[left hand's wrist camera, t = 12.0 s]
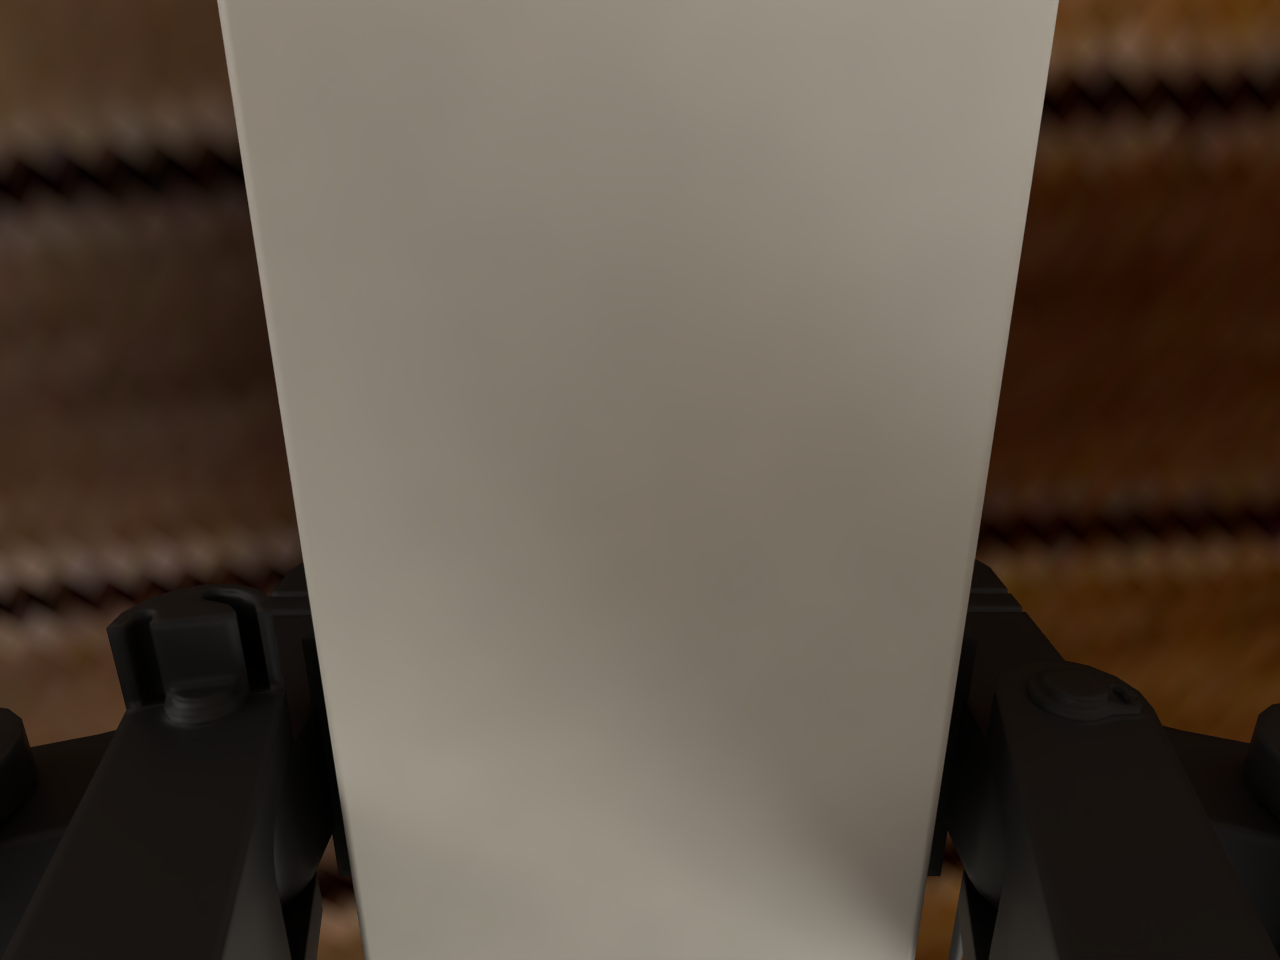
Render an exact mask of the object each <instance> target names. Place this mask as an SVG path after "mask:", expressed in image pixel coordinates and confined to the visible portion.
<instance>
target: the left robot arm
mask: <svg viewBox="0 0 1280 960" xmlns="http://www.w3.org/2000/svg"><path fill="white" fill-rule="evenodd" d="M272 594H273V595H272V597H268V596H267V595H265V594H264V593H263V592H261V591H260V590H258V589H257V588H253V587H248V586H243V585H238V584H205V585H199V586H194V587H188V588H182V589H177V590H173V591H170V592H167V593H164V594H161V595H159V596H156V597H153V598H150V599H147V600H145V601H143V602H141V603H139V604H137V605H136V606H134V607H132V608H130V609H128V610H126V611H125V612H123V613H121V614H120V615H119V616H118V617H117V618H116V619H115V620H114V621H113V622H112V623H111V624H110V625H109V626H108V627H107V628H106V629H107V633H108V637H109V641H110V645H111V649H112V653H113V657H114V661H115V665H116V669H117V673H118V677H119V681H120V685H121V689H122V693H123V697H124V701H125V705H126V709H127V710H126V712H125V714H124V716H123V718H122V720H121V722H120V724H119V726H118V728H117V730H114V731H110V732H106V733H102V734H98V735H93V736H88V737H83V738H77V739H72V740H67V741H62V742H56V743H51V744H46V745H41V746H35V747H30V745H29V742H28V738H27V735H26V732H25V728H24V725H23V722H22V719H21V718H20V717H18V716H17V715H16V714H14V713H13V712H12V711H10V710H9V709H6V708H0V960H316V959H317V951H318V943H319V934H320V926H321V918H322V910H323V908H322V902H321V895H320V889H319V883H318V877H317V871H316V869H317V867H318V865H319V862H320V860H321V858H322V855H323V853H324V851H325V849H326V846H327V844H328V842H329V839H330V837H331V835H332V834H333V841H334V847H335V853H336V860H337V866H338V872H339V876H352V874H351V868H350V861H349V855H348V848H347V842H346V835H345V829H344V822H343V816H342V809H341V803H340V796H339V790H338V783H337V777H336V770H335V764H334V757H333V751H332V744H331V737H330V731H329V724H328V718H327V711H326V705H325V698H324V692H323V685H322V679H321V672H320V666H319V659H318V653H317V646H316V640H315V633H314V627H313V620H312V614H311V607H310V601H309V594H308V588H307V581H306V575H305V568H304V562H303V563H302V564H300V565H298V566H297V567H295V568H293V569H292V570H290V571H289V572H288V573H287V575H286V576H285V577H284V579H283V580H282V581H281V582H280V584H279V585H278V586H277V587H276V589H275V590H274V591H273V592H272ZM947 831H948V832H949V834H950V836H951V839H952V841H953V843H954V845H955V848H956V850H957V852H958V855H959V857H960V859H961V861H962V864H963V866H964V871H963V877H962V883H961V889H960V894H959V900H958V906H957V912H956V918H955V924H954V930H953V935H952V941H951V947H950V954H949V960H961V959H962V954H963V957H964V960H1280V704H1273V705H1271V706H1270V707H1268V708H1267V709H1266V710H1264V711H1263V712H1262V713H1260V714H1259V716H1258V719H1257V722H1256V726H1255V729H1254V732H1253V736H1252V739H1251V742H1250V743H1245V742H1240V741H1235V740H1229V739H1224V738H1219V737H1213V736H1208V735H1203V734H1197V733H1192V732H1187V731H1182V730H1178V729H1174V728H1170V727H1166V726H1162V724H1161V722H1160V721H1159V719H1158V717H1157V715H1156V713H1155V711H1154V709H1153V708H1152V706H1151V705H1150V704H1149V703H1148V702H1147V700H1146V699H1145V698H1144V697H1143V696H1142V694H1141V693H1140V692H1139V691H1137V690H1136V689H1134V688H1133V687H1131V686H1130V685H1128V684H1127V683H1125V682H1124V681H1122V680H1120V679H1119V678H1117V677H1116V676H1113V675H1111V674H1108V673H1106V672H1103V671H1101V670H1098V669H1096V668H1093V667H1091V666H1088V665H1083V664H1079V663H1074V662H1069V661H1065V660H1064V659H1063V658H1062V657H1061V655H1060V654H1059V653H1058V652H1057V650H1056V649H1055V648H1054V647H1053V645H1052V644H1051V643H1050V642H1049V640H1048V639H1047V638H1046V637H1045V635H1044V634H1043V633H1042V632H1041V630H1040V629H1039V628H1038V627H1037V625H1036V624H1035V623H1034V622H1033V620H1032V619H1031V618H1030V617H1029V615H1028V614H1027V613H1026V612H1022V607H1021V605H1020V604H1019V603H1018V602H1017V600H1016V599H1015V598H1014V597H1013V596H1012V594H1008V592H1007V588H1006V587H1005V586H1004V584H1003V583H1002V582H1001V581H1000V579H999V578H998V577H997V576H996V574H995V573H994V572H993V571H992V569H991V568H990V567H988V566H987V565H985V564H983V563H981V562H980V561H978V560H976V559H975V561H974V568H973V574H972V581H971V588H970V594H969V601H968V608H967V614H966V621H965V627H964V634H963V641H962V647H961V654H960V661H959V667H958V674H957V681H956V687H955V694H954V701H953V707H952V714H951V720H950V727H949V734H948V740H947V747H946V754H945V760H944V767H943V774H942V780H941V787H940V794H939V800H938V807H937V813H936V820H935V827H934V833H933V840H932V847H931V853H930V860H929V867H928V873H927V876H940V875H941V868H942V862H943V856H944V849H945V843H946V837H947Z"/></svg>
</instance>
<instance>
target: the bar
mask: <svg viewBox="0 0 1280 960" xmlns="http://www.w3.org/2000/svg"><path fill="white" fill-rule="evenodd" d="M217 2H218V9H219V15H220V22H221V28H222V35H223V41H224V48H225V54H226V61H227V67H228V74H229V80H230V87H231V93H232V100H233V106H234V113H235V119H236V126H237V132H238V139H239V145H240V152H241V158H242V165H243V171H244V178H245V184H246V191H247V197H248V204H249V210H250V217H251V223H252V230H253V236H254V243H255V249H256V256H257V262H258V269H259V275H260V282H261V288H262V295H263V301H264V308H265V315H266V321H267V328H268V334H269V341H270V347H271V354H272V360H273V367H274V373H275V380H276V386H277V393H278V399H279V406H280V412H281V419H282V425H283V432H284V438H285V445H286V451H287V458H288V464H289V471H290V477H291V484H292V490H293V497H294V503H295V510H296V516H297V523H298V529H299V536H300V542H301V549H302V555H303V562H304V568H305V575H306V581H307V588H308V594H309V601H310V607H311V614H312V620H313V627H314V633H315V640H316V646H317V653H318V659H319V666H320V672H321V679H322V685H323V692H324V698H325V705H326V711H327V718H328V724H329V731H330V737H331V744H332V751H333V757H334V764H335V770H336V777H337V783H338V790H339V796H340V803H341V809H342V816H343V822H344V829H345V835H346V842H347V848H348V855H349V861H350V868H351V874H352V881H353V887H354V894H355V900H356V907H357V913H358V920H359V926H360V933H361V939H362V946H363V952H364V959H365V960H915V953H916V946H917V940H918V933H919V926H920V920H921V913H922V906H923V900H924V893H925V887H926V880H927V873H928V867H929V860H930V853H931V847H932V840H933V833H934V827H935V820H936V813H937V807H938V800H939V794H940V787H941V780H942V774H943V767H944V760H945V754H946V747H947V740H948V734H949V727H950V720H951V714H952V707H953V701H954V694H955V687H956V681H957V674H958V667H959V661H960V654H961V647H962V641H963V634H964V627H965V621H966V614H967V608H968V601H969V594H970V588H971V581H972V574H973V568H974V561H975V554H976V548H977V541H978V534H979V528H980V521H981V514H982V508H983V501H984V495H985V488H986V481H987V475H988V468H989V461H990V455H991V448H992V441H993V435H994V428H995V421H996V415H997V408H998V402H999V395H1000V388H1001V382H1002V375H1003V368H1004V362H1005V355H1006V348H1007V342H1008V335H1009V328H1010V322H1011V315H1012V309H1013V302H1014V295H1015V289H1016V282H1017V275H1018V269H1019V262H1020V255H1021V249H1022V242H1023V235H1024V229H1025V222H1026V215H1027V209H1028V202H1029V196H1030V189H1031V182H1032V176H1033V169H1034V162H1035V156H1036V149H1037V142H1038V136H1039V129H1040V122H1041V116H1042V109H1043V103H1044V96H1045V89H1046V83H1047V76H1048V69H1049V63H1050V56H1051V49H1052V43H1053V36H1054V29H1055V23H1056V16H1057V10H1058V3H1059V0H217Z"/></svg>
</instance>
